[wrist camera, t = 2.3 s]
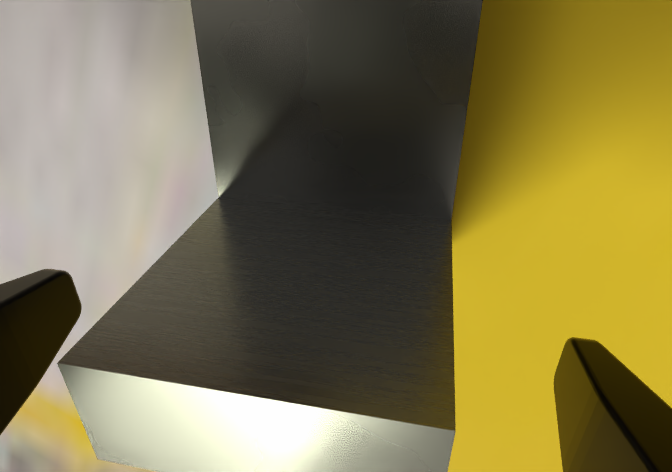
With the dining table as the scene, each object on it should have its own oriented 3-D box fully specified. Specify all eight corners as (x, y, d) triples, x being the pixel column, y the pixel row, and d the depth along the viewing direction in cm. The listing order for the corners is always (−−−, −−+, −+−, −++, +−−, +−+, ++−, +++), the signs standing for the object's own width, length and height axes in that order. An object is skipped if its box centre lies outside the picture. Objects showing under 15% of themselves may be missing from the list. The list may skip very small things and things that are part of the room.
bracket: (441, 251, 12) (435, 530, 6) (257, 232, 13) (98, 459, 7) (494, -143, 8) (633, -454, 2) (221, -132, 9) (-234, -326, 3)
